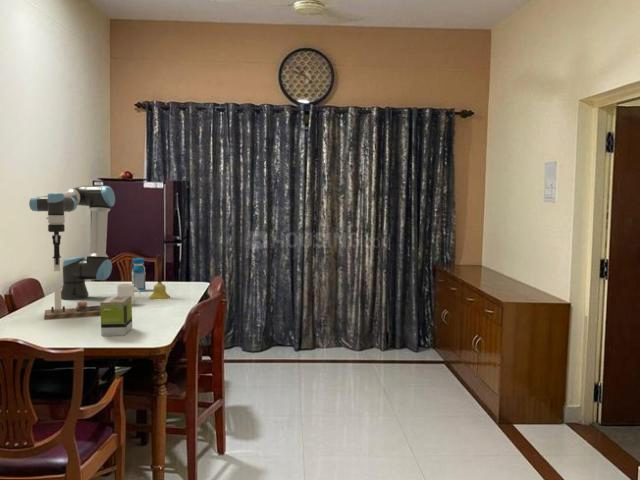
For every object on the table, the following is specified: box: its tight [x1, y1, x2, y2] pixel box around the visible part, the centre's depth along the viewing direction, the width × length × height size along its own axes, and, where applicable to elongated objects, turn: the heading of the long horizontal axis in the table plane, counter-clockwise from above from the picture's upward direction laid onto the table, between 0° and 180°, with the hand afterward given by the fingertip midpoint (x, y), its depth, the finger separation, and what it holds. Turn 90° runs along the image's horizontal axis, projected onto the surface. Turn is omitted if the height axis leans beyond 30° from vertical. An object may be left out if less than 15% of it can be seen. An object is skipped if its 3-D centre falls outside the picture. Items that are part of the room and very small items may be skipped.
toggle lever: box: [53, 287, 63, 310], centre depth 294 cm, size 3×1×11 cm, turn 113°
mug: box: [116, 283, 141, 305], centre depth 324 cm, size 9×12×11 cm
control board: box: [43, 305, 101, 320], centre depth 297 cm, size 36×14×4 cm, turn 113°
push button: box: [76, 301, 88, 307], centre depth 296 cm, size 4×4×2 cm
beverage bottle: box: [131, 257, 147, 292], centre depth 370 cm, size 8×8×20 cm
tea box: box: [99, 295, 133, 337], centre depth 259 cm, size 15×10×15 cm
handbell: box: [148, 254, 171, 300], centre depth 345 cm, size 12×12×25 cm
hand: (57, 270), depth 299 cm, fingers closed
